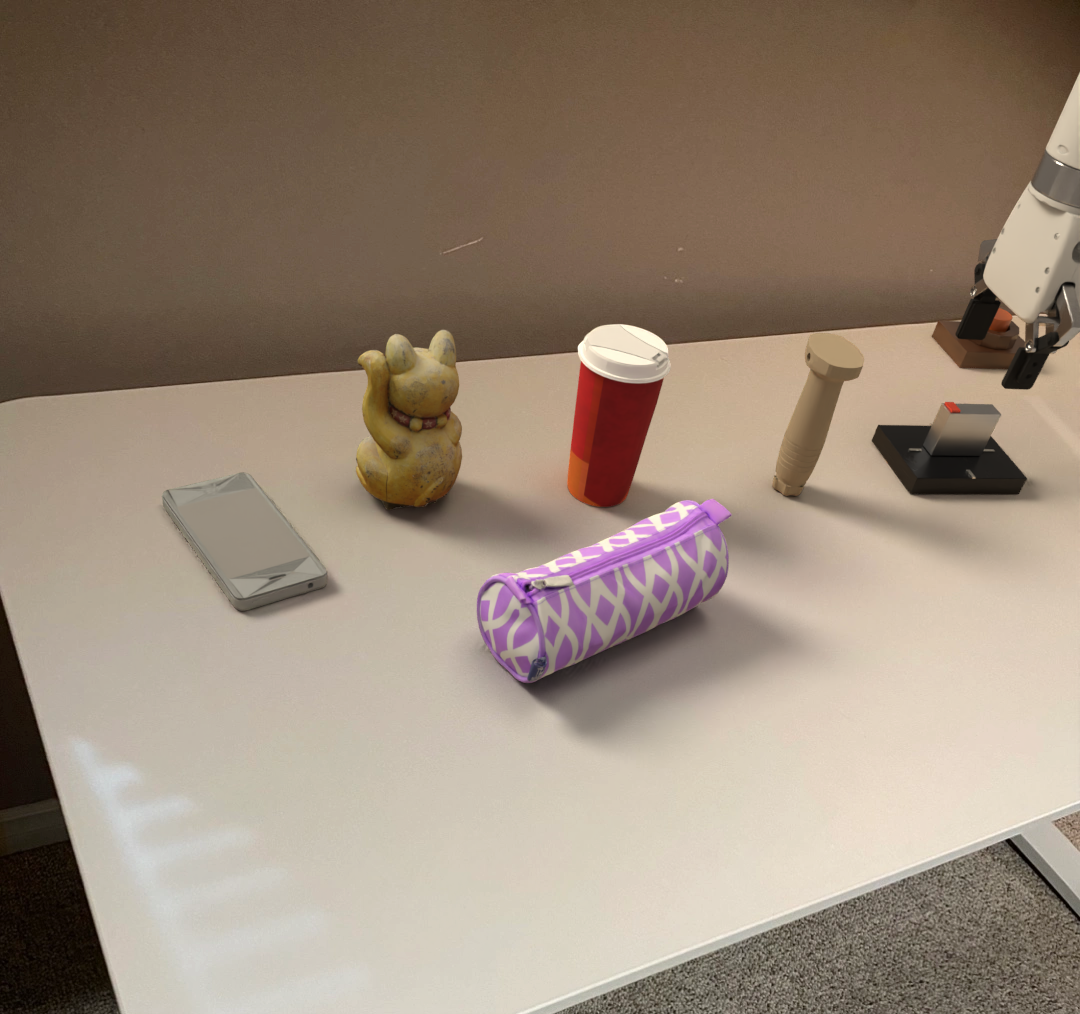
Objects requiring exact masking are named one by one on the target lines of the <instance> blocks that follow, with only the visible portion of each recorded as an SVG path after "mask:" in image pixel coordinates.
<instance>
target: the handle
mask: <svg viewBox="0 0 1080 1014" xmlns="http://www.w3.org/2000/svg"><path fill="white" fill-rule="evenodd" d="M804 361H805V365H806V366H807V367H808V368H809V372H808V375H807V378H806V381H805V383H804V385H803V388H802V389H801V390H802V391H801V392H800V395H799V398H798V401H797V403H796V405H795V408H794V410H793V412H792V414H791V417H790V420H789V422H788V425H787V427H786V430H785V432H784V435H783V439H782V441H781V444H780V448H779V451H778V456H777V459H776V464H775V475H773V479H772V484H771V485H772V488H773V489H774V490H775V491H778V492H779V493H781V494H782V495H783V496H785V497H788V496H794V497H798V496H800V495H801V494H802V491H803V490H804V487H805V485H806V483H807V482H808V480H809V478H811V475H812V474H813V472H814V471H815V468H816V466H817V464H818V461H819V459H820V456H821V453H822V451H823V448H824V445H825V443H826V441H827V437H828V433H829V430H830V427H831V423H832V420H833V417H834V412H835V411H836V410H835V409H836V407H837V403H838V400H839V397H840V394H841V391H842V388H843V385H844V383H845V382H850V381H853V380H856V379H858V378H859V377H860V375H861V372H862V370H863V367H864V363H865V356H864V355H863V353H862V352H861V350H860V348H859V347H858V346H856V345H855V344H854V343H853V342H852V341H850V340H848V339H847V338H845V337H843V336H841V335H838V334H835V333H829V332H815V333H811V334H809V337H808V341H807V343H806V346H805V352H804Z"/></svg>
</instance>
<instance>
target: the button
mask: <svg viewBox="0 0 1080 1014" xmlns="http://www.w3.org/2000/svg"><path fill="white" fill-rule="evenodd" d="M1011 321H1013V315H1012V314H1011V313H1010V312H1009V311H1007V310H1006V309H1003V308H1001V307H999V309H998V311H997V313H996V315H995V317H994V319H993V322H992V324H991V326H990V328H989V329H990V330H994V331H997V332H1006V331H1007V329H1008V327H1009V325H1010V323H1011Z"/></svg>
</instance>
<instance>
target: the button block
mask: <svg viewBox="0 0 1080 1014" xmlns="http://www.w3.org/2000/svg"><path fill="white" fill-rule="evenodd" d="M960 322H961V320H960V321H959V320H937V323H936V325H935V327H934V330H933V333H932V334H931V337H932V339H933V340H934V341H935V342H936V343H937V344H938V345H939V346H940V348H941V349H942V350H943V351H944V352H945V354H946V355H947V356H948V357H949V358H950V359H951V360H952V361H953V362H954V363H955V365H956V366H957V367H958V368H959V369H973V370H974V369H978V370H981V369H982V370H1006V371H1007V370H1008V368H1009V366H1010V364H1011V362H1012V360H1013V358H1014V356H1015V354H1016V352H1017V350H1018V348H1019V347H1025V339H1023V338H1022V337H1021V336H1020V326H1018V325H1017V323H1015V322H1014V321H1013V320H1011V323H1010V325H1009V327H1008V329H1007V331H1006V332H997V331H994V330H990V329H989V330H988V332H987V334H986V337H985V338H984V339H983V340H970V339H958V338H957V337H956V335H955V334H956V331H957V329H958V327H959V324H960Z"/></svg>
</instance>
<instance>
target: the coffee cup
mask: <svg viewBox="0 0 1080 1014" xmlns="http://www.w3.org/2000/svg"><path fill="white" fill-rule="evenodd" d="M583 337H584V338H583V340H582V341H581V342H580V343H579V344H578V346H577V353H578V354H577V355H578V358H579V360H580V363H579V364H580V365H579V373H578V374H579V375H578V382H577V383H578V384H577V390H576V397H575V398H576V399H575V407H574V415H573V424H572V433H571V442H570V449H569V450H570V451H569V459H568V470H567V483H566V484H567V490H568V492H569V494H571V496H573V498H575V499H576V500H578V501H579V502H581V503H584V504H585V505H589V506H593V507H599V508H611V507H616V506H618V505H621V504H622V503H623V502H624V501H626V499H627V497H628V495H629V492H630V490H631V486H632V483H633V481H634V477H635V474H636V471H637V468H638V464H639V461H640V458H641V455H642V451H643V448H644V445H645V443H646V438H647V435H648V432H649V429H650V426H651V423H652V419H653V418H654V417H653V416H654V414H655V412H656V411H655V410H656V407H657V404H658V400H659V397H660V394H661V390H662V387H663V383H664V380H665V378H666V377H667V376H668V375H669V374H670V372H671V369H672V364H671V360H670V358H669V357H670V355H669V354H670V353H669V348H668V345H667V344H666V343H665V341H664V340H663V339H662V338H661V337H659V336H658V335H656V334H655V333H653V332H651V331H649V330H647V329H644V328H641V327H638V326H634V325H629V324H623V323H615V324H603V325H600V326H597V327H595V328H593V329H592V330H591V331H590V332H588V333H587V334H586V335H584V336H583Z"/></svg>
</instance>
